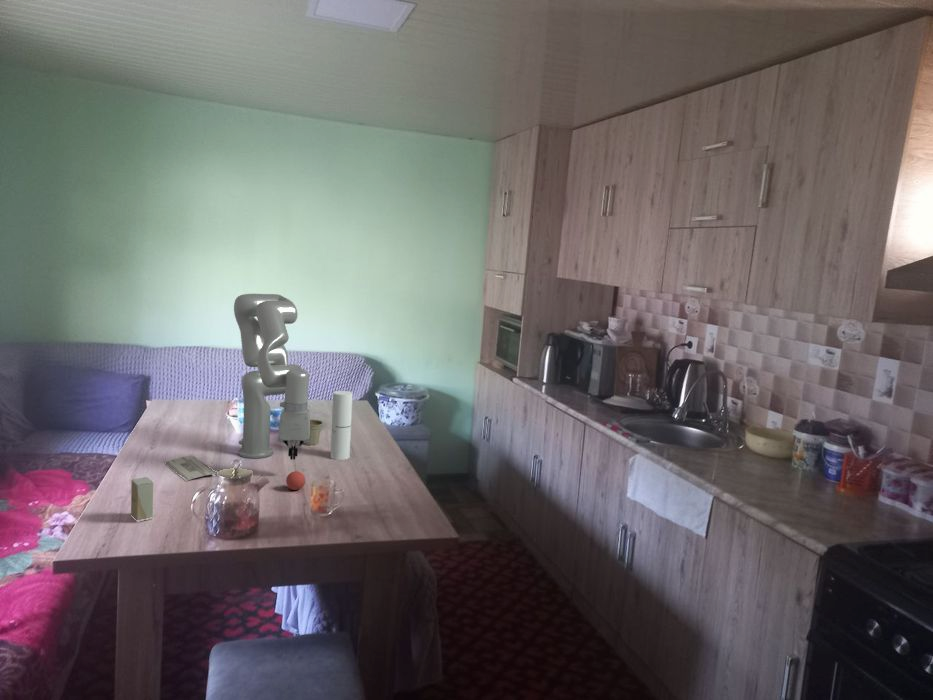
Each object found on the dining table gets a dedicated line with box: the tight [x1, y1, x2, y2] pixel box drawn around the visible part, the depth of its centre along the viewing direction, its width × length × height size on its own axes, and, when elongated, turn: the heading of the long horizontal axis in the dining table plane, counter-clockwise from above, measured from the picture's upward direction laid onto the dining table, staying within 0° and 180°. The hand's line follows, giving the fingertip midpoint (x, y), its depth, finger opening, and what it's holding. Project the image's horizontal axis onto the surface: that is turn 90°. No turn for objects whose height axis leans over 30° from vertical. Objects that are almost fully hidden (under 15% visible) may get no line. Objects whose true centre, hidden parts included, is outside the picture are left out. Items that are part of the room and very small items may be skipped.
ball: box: [285, 470, 306, 491], centre depth 212 cm, size 6×6×6 cm
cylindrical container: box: [330, 390, 354, 461], centre depth 248 cm, size 7×7×25 cm
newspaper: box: [163, 455, 218, 482], centre depth 225 cm, size 23×12×2 cm, turn 42°
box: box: [130, 476, 154, 520], centre depth 182 cm, size 5×4×11 cm
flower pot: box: [303, 419, 324, 446], centre depth 264 cm, size 9×9×9 cm
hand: (292, 458), depth 223 cm, fingers closed
